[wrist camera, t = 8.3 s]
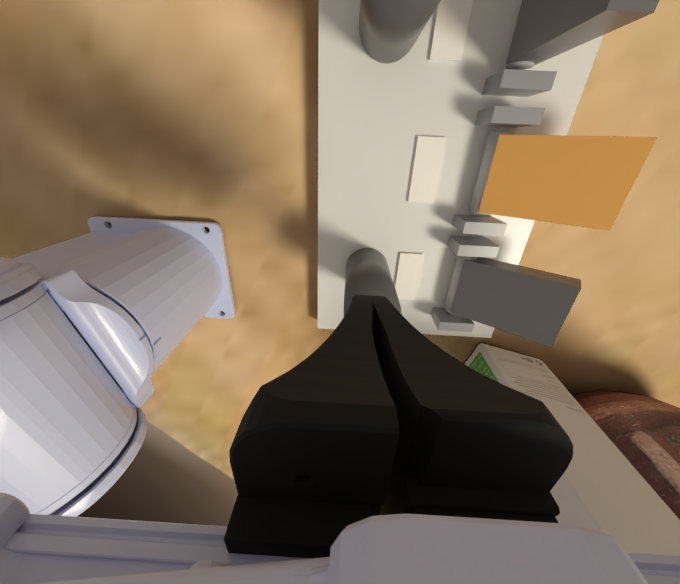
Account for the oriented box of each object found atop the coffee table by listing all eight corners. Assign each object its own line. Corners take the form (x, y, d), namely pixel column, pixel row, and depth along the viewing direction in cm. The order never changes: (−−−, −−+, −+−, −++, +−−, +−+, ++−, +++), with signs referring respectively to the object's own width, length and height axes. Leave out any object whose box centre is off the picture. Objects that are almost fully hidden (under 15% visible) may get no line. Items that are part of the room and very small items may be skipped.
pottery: (557, 344, 24) (971, 751, 8) (726, 389, 25) (1350, 801, 9) (459, 458, 32) (564, 768, 16) (591, 487, 34) (804, 793, 18)
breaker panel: (319, 320, 23) (307, 384, 17) (321, -136, 12) (288, -451, 6) (484, 329, 23) (535, 398, 17) (644, -125, 12) (983, -440, 6)
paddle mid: (467, 212, 17) (608, 232, 13) (487, 132, 15) (658, 134, 12) (471, 209, 18) (603, 227, 15) (490, 133, 16) (648, 136, 13)
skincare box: (479, 339, 24) (656, 605, 10) (546, 358, 24) (797, 632, 11) (435, 402, 28) (518, 658, 14) (493, 417, 28) (629, 675, 14)
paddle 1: (441, 310, 20) (550, 348, 16) (455, 255, 18) (582, 286, 14) (447, 303, 21) (551, 338, 17) (461, 250, 19) (581, 278, 15)
